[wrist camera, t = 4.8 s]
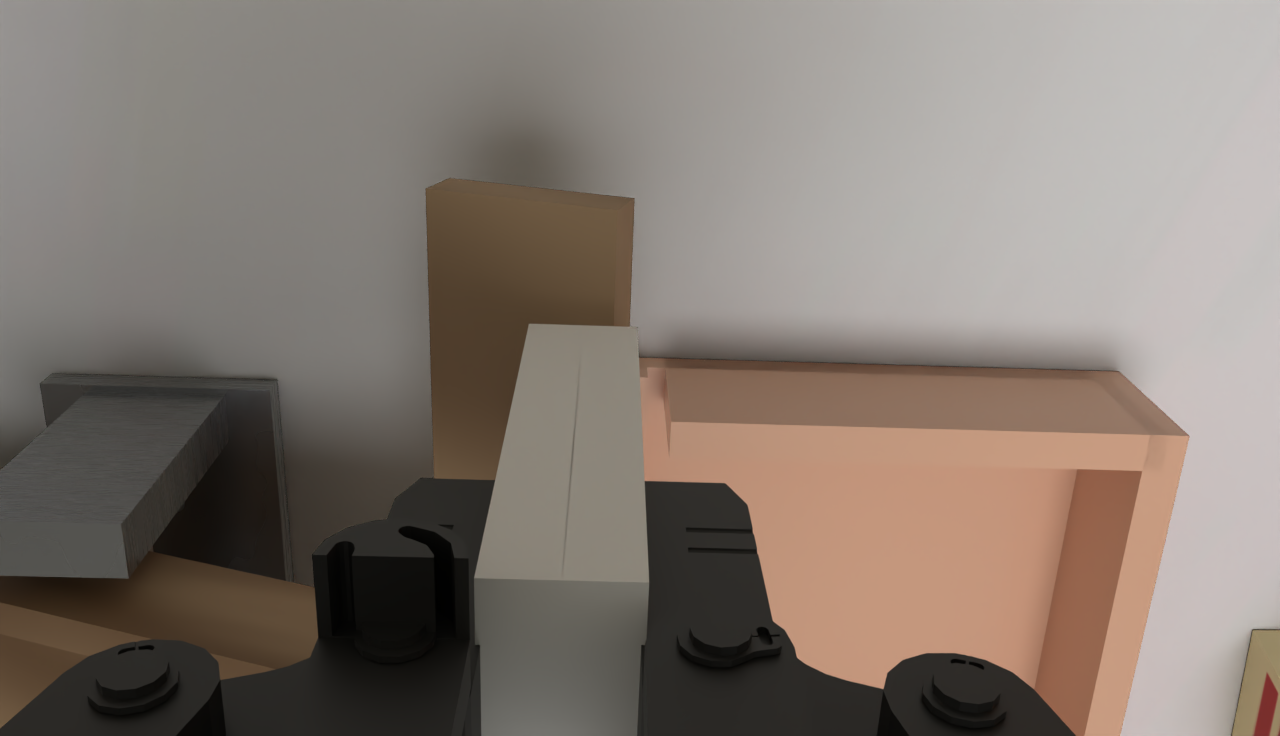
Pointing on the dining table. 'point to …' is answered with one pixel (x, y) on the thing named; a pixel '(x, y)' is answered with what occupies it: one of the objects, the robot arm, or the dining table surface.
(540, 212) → the lever
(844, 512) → the dish
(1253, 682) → the milk carton
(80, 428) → the stand
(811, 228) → the dining table surface
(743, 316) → the dining table surface
